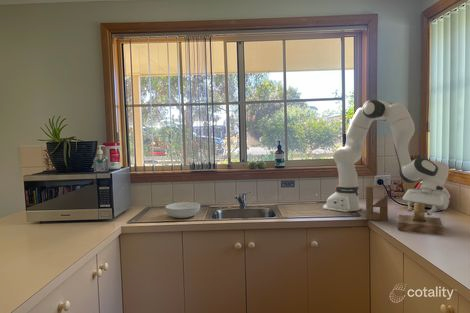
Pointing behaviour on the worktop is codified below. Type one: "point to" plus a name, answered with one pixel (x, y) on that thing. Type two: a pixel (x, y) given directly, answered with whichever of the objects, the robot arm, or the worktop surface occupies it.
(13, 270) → the worktop surface
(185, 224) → the worktop surface
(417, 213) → the peg
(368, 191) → the wooden braced stand
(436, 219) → the board
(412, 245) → the worktop surface
